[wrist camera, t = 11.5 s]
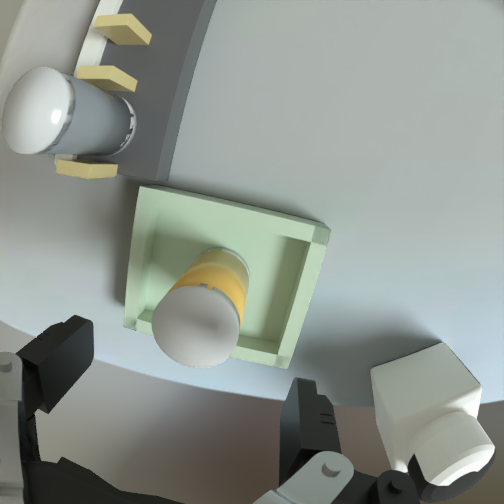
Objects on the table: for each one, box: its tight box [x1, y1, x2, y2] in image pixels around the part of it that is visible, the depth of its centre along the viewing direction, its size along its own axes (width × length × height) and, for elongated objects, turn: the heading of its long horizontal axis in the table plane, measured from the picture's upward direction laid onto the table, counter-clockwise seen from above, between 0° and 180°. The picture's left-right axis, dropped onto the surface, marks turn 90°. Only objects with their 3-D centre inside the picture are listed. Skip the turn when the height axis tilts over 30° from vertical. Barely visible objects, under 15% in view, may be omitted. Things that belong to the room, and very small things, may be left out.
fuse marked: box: [152, 247, 250, 368], centre depth 18 cm, size 4×4×8 cm
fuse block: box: [54, 0, 217, 181], centre depth 15 cm, size 8×24×6 cm, turn 167°
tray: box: [124, 184, 331, 369], centre depth 21 cm, size 12×10×2 cm
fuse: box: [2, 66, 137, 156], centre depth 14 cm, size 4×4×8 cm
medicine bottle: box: [370, 342, 496, 503], centre depth 18 cm, size 7×7×12 cm
